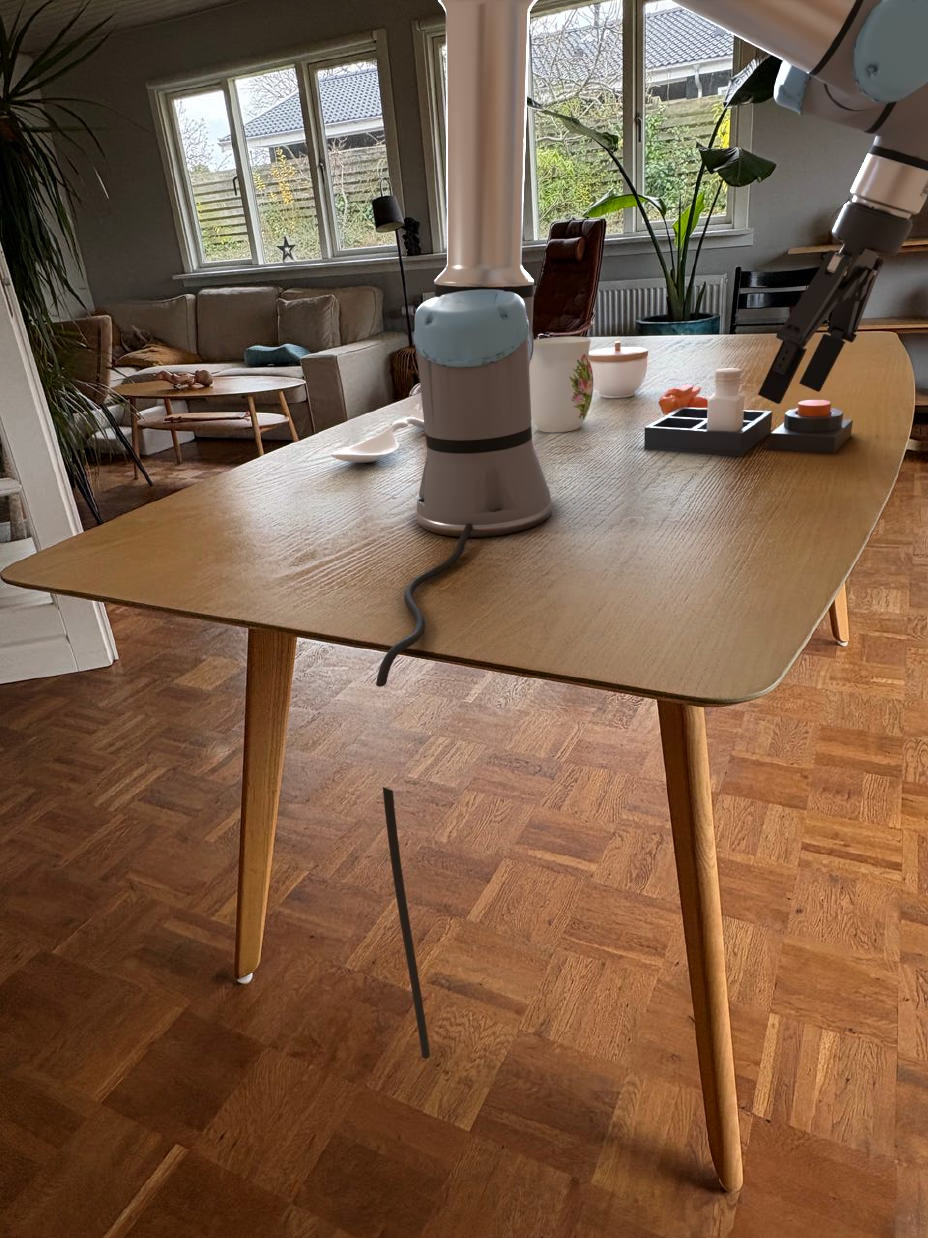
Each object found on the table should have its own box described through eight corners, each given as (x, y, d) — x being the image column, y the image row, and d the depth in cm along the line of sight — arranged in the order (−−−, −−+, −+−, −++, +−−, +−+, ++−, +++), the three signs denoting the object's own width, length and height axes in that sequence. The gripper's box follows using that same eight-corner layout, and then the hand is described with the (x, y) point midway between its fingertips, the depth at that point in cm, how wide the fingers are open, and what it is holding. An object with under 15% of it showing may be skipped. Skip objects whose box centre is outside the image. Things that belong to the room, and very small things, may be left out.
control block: (833, 454, 103) (837, 422, 101) (769, 449, 107) (771, 419, 105) (851, 435, 110) (854, 405, 108) (790, 432, 114) (792, 403, 113)
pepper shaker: (742, 439, 110) (747, 367, 106) (734, 446, 107) (739, 372, 103) (713, 438, 112) (717, 367, 108) (704, 445, 109) (708, 372, 105)
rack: (740, 456, 105) (742, 433, 104) (643, 449, 112) (644, 427, 111) (770, 433, 115) (772, 411, 113) (680, 427, 122) (680, 406, 121)
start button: (825, 419, 105) (827, 406, 104) (793, 418, 107) (794, 404, 106) (833, 413, 107) (834, 400, 107) (801, 411, 110) (803, 398, 109)
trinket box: (578, 394, 152) (577, 342, 148) (629, 387, 154) (630, 335, 150) (604, 403, 142) (603, 348, 138) (658, 395, 145) (659, 340, 141)
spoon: (465, 421, 139) (464, 400, 137) (375, 473, 113) (372, 448, 111) (419, 420, 142) (416, 400, 141) (320, 471, 116) (316, 447, 115)
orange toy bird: (685, 373, 131) (656, 387, 122) (728, 389, 128) (701, 405, 119) (674, 402, 133) (645, 418, 125) (716, 419, 131) (689, 437, 122)
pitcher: (614, 415, 133) (614, 327, 127) (570, 441, 120) (567, 344, 114) (554, 412, 139) (551, 328, 133) (504, 437, 125) (499, 345, 119)
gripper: (881, 213, 77) (779, 418, 89) (942, 223, 95) (850, 394, 107) (810, 189, 81) (721, 390, 93) (881, 203, 98) (799, 371, 110)
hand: (790, 393), depth 100 cm, fingers open, 13 cm apart
